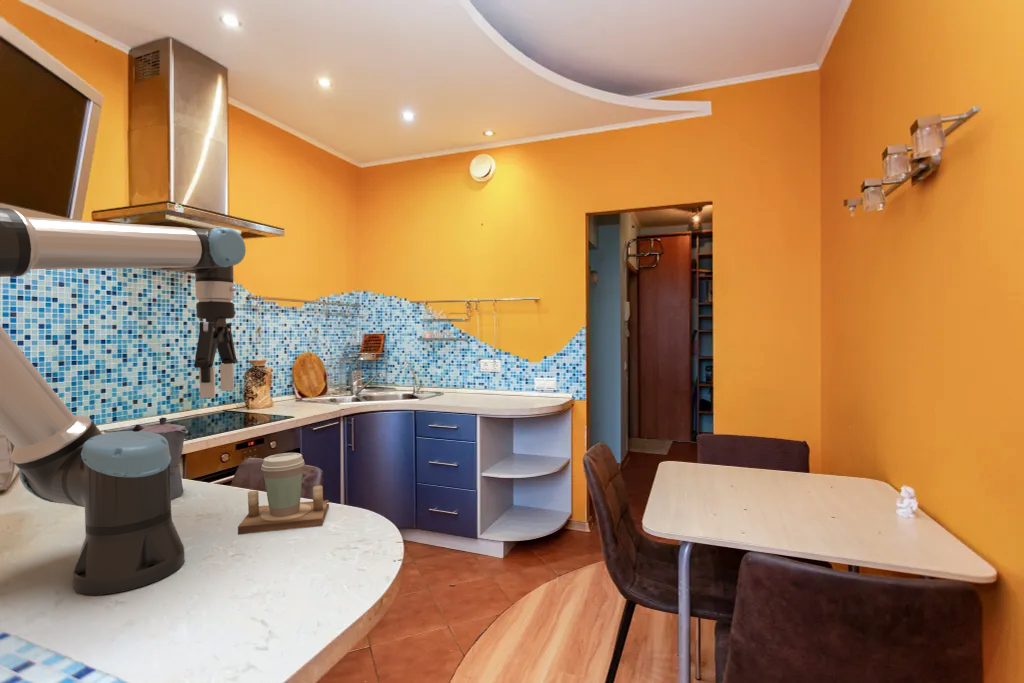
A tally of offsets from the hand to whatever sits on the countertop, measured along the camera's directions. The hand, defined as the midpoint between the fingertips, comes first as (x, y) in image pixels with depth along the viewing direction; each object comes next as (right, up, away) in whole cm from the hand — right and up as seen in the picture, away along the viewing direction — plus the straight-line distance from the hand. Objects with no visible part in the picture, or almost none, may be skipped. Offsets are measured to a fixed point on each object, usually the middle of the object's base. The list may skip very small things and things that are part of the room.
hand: (218, 394), depth 115 cm
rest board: (+19, -27, -6) cm, 33 cm away
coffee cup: (+18, -25, -7) cm, 32 cm away
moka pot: (-20, -27, +10) cm, 35 cm away
